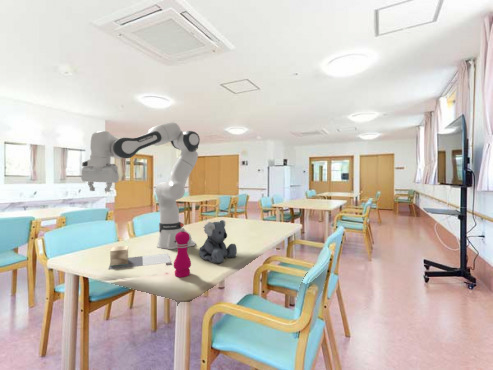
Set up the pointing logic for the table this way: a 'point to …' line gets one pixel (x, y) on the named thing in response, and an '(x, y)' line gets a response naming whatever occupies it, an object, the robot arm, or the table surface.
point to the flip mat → (145, 261)
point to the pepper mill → (182, 254)
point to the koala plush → (216, 243)
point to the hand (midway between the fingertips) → (99, 191)
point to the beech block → (119, 256)
